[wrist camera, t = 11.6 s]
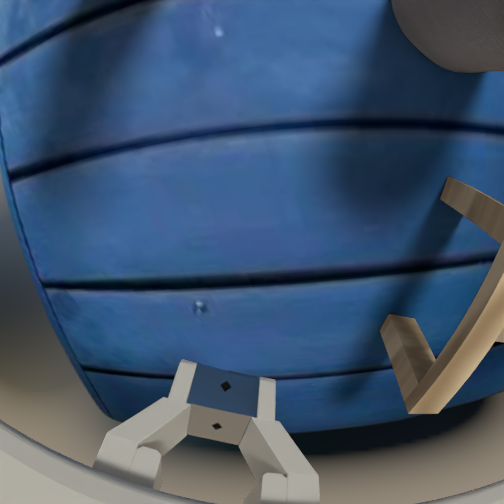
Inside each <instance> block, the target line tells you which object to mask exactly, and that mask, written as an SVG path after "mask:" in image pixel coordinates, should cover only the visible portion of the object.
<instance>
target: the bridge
mask: <svg viewBox="0 0 504 504" xmlns="http://www.w3.org/2000/svg"><path fill="white" fill-rule="evenodd" d="M440 200H442V201H443V202H445V203H446V204H448V205H449V206H451V207H452V208H454V209H455V210H456V211H458V212H459V213H461V214H462V215H463V216H465V217H466V218H468V219H469V220H470V221H472V222H473V223H474V224H476V225H477V226H478V227H480V228H481V229H482V230H484V231H485V232H486V233H488V234H489V235H490V236H492V237H493V238H494V239H495V240H497V241H498V242H499V243H500V244H501V246H500V249H499V251H498V253H497V255H496V257H495V260H494V262H493V264H492V266H491V268H490V270H489V272H488V274H487V276H486V278H485V280H484V282H483V284H482V286H481V287H480V289H479V291H478V293H477V295H476V297H475V299H474V300H473V302H472V304H471V306H470V307H469V309H468V311H467V313H466V314H465V316H464V318H463V319H462V321H461V323H460V324H459V326H458V327H457V329H456V331H455V332H454V334H453V335H452V337H451V338H450V340H449V341H448V343H447V344H446V346H445V347H444V349H443V350H442V352H441V353H440V355H439V356H438V358H437V359H435V357H434V355H433V353H432V351H431V349H430V347H429V345H428V343H427V341H426V339H425V337H424V335H423V333H422V332H421V330H420V328H419V326H418V324H417V322H416V320H415V319H414V318H408V317H403V316H398V315H393V314H388V316H387V318H386V320H385V322H384V323H383V325H382V327H381V329H380V333H381V336H382V339H383V341H384V344H385V347H386V350H387V352H388V355H389V358H390V361H391V364H392V366H393V369H394V372H395V375H396V378H397V381H398V384H399V387H400V390H401V393H402V396H403V399H404V402H405V406H406V409H407V412H408V414H436V413H437V414H438V413H439V412H440V411H441V410H442V408H443V407H444V406H445V405H446V404H447V403H448V402H449V401H450V399H451V398H452V397H453V396H454V395H455V394H456V392H457V391H458V390H459V389H460V388H461V386H462V385H463V384H464V383H465V381H466V380H467V379H468V378H469V376H470V375H471V374H472V372H473V371H474V370H475V369H476V367H477V366H478V365H479V363H480V362H481V360H482V359H483V358H484V356H485V355H486V354H487V352H488V351H489V349H490V348H491V346H492V345H493V343H494V342H495V340H496V339H497V337H498V336H499V334H500V333H501V331H502V330H503V328H504V205H503V204H502V203H500V202H498V201H496V200H495V199H493V198H491V197H489V196H488V195H486V194H484V193H482V192H480V191H479V190H477V189H475V188H473V187H471V186H469V185H467V184H465V183H463V182H460V181H458V180H456V179H454V178H452V177H450V176H448V178H447V181H446V183H445V186H444V189H443V192H442V195H441V198H440Z"/></svg>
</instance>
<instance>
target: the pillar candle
mask: <svg viewBox="0 0 504 504" xmlns="http://www.w3.org/2000/svg"><path fill="white" fill-rule="evenodd" d="M391 3H392V9H393V12H394V16H395V18H396V21H397V23H398V24H399V27H400V29H401V30H402V32H403V34H404V35H405V36H406V38H407V39H408V40H409V41H410V42H411V43H412V44H413V45H414V46H415V47H416V48H417V49H418V50H419V51H420V52H421V53H422V54H424V55H425V56H426V57H427V58H429V59H430V60H431V61H433V62H434V63H435V64H437V65H439V66H440V67H442V68H445V69H447V70H450V71H453V72H462V73H478V72H490V71H504V0H391Z"/></svg>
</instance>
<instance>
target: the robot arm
mask: <svg viewBox="0 0 504 504" xmlns="http://www.w3.org/2000/svg"><path fill="white" fill-rule="evenodd" d="M275 398H276V382H275V380H274V379H269V378H263V377H258V376H253V375H248V374H243V373H237V372H233V371H226V370H222V369H218V368H214V367H210V366H206V365H203V364H199V363H195V362H191V361H187V360H184V359H182V360H181V362H180V364H179V367H178V369H177V372H176V375H175V378H174V381H173V384H172V387H171V390H170V393H169V396H168V398H166V397H162V398H161V399H159V400H158V401H156V402H155V403H153V404H152V405H150V406H149V407H147V408H145V409H144V410H142V411H141V412H139V413H138V414H136V415H134V416H133V417H131V418H130V419H128V420H126V421H125V422H123V423H122V424H120V425H119V426H117V427H115V428H114V429H112V430H110V431H109V432H107V434H106V436H105V439H104V441H103V444H102V446H101V448H100V450H99V453H98V455H97V457H96V460H95V462H94V465H93V467H92V468H91V467H89V466H86V465H84V464H82V463H79V462H77V461H75V460H73V459H71V458H68V457H66V456H64V455H62V454H60V453H58V452H56V451H54V450H52V449H50V448H48V447H46V446H44V445H42V444H41V443H39V442H37V441H35V440H33V439H31V438H30V437H28V436H26V435H24V434H23V433H21V432H19V431H18V430H16V429H14V428H13V427H11V426H10V425H8V424H6V423H5V422H3V421H2V420H0V504H214V503H208V502H204V501H199V500H193V499H189V498H185V497H181V496H176V495H173V494H168V493H165V492H161V491H160V488H161V484H162V471H161V470H162V465H161V463H162V462H161V461H162V460H161V459H162V456H164V455H165V454H166V453H167V452H168V451H169V450H170V449H172V448H173V447H174V446H175V445H176V444H178V442H180V441H181V440H182V439H183V438H184V437H186V435H187V434H188V435H193V436H197V437H202V438H208V439H213V440H217V441H221V442H226V443H231V444H235V445H239V448H240V450H241V452H242V454H243V456H244V458H245V460H246V462H247V464H248V466H249V468H250V470H251V472H252V474H253V476H254V478H255V480H256V482H257V484H256V485H255V487H254V488H253V489H252V490H251V492H250V493H249V494H248V495H247V497H246V498H245V499H244V504H320V496H319V476H318V474H317V473H316V472H315V470H314V469H313V467H312V466H311V465H310V463H309V462H308V461H307V459H306V458H305V457H304V455H303V454H302V453H301V451H300V450H299V448H298V447H297V446H296V445H295V443H294V441H293V440H292V439H291V437H290V436H289V434H288V433H287V432H286V430H285V429H284V427H283V426H282V424H281V423H280V422H279V421H275ZM417 504H504V480H501V481H498V482H496V483H493V484H490V485H487V486H484V487H481V488H478V489H474V490H471V491H468V492H464V493H461V494H457V495H453V496H449V497H445V498H441V499H437V500H432V501H427V502H422V503H417Z"/></svg>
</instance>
